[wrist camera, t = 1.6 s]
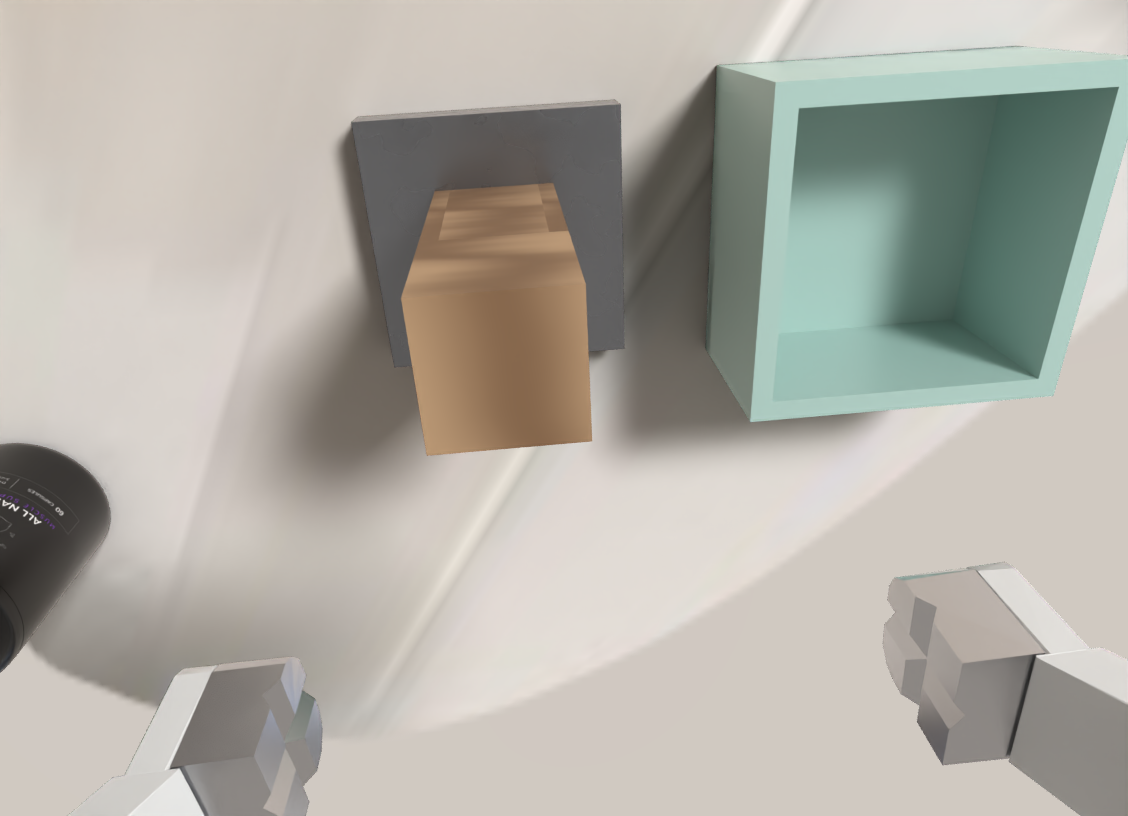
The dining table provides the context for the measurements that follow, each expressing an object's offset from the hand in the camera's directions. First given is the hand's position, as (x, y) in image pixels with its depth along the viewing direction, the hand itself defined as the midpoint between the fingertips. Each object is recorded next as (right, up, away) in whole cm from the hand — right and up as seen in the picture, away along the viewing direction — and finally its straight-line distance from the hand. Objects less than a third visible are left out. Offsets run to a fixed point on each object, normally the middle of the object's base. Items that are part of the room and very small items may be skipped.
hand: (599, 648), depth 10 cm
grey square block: (-3, +11, +21) cm, 24 cm away
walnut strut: (-3, +10, +20) cm, 23 cm away
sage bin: (+12, +12, +22) cm, 28 cm away
